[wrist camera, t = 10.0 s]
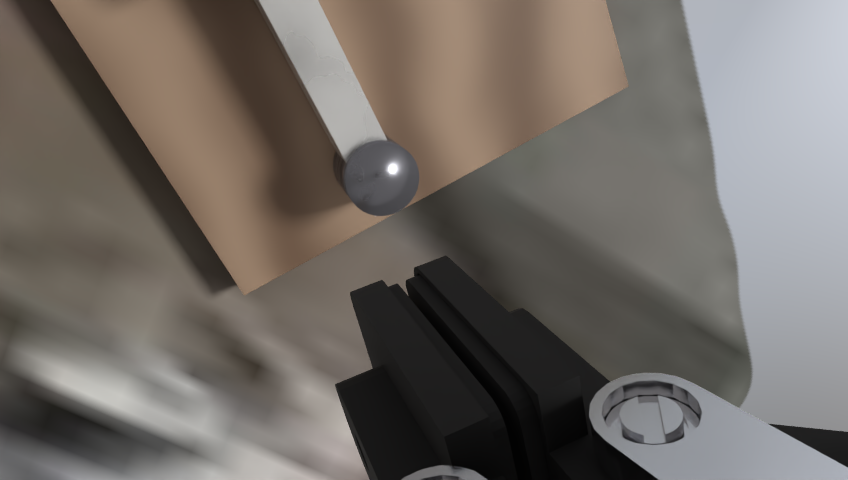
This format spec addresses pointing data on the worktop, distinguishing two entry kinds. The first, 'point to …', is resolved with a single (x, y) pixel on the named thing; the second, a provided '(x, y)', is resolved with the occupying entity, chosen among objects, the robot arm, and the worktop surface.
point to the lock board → (296, 120)
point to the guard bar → (342, 109)
